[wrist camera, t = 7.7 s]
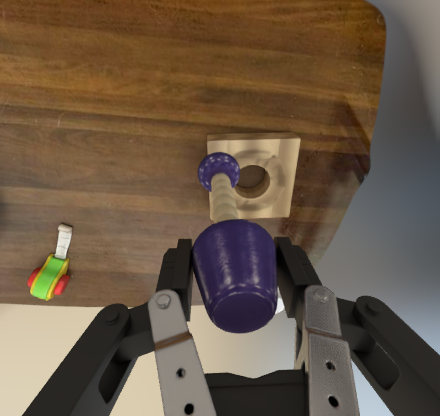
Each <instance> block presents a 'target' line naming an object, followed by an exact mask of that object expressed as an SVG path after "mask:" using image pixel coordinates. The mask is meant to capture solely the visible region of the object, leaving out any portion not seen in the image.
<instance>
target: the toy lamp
mask: <svg viewBox="0 0 440 416" xmlns="http://www.w3.org/2000/svg"><path fill="white" fill-rule="evenodd" d="M239 177H240V167H239V164H238V162H237V161H236V159H235V158H234V157H233V156H231V155H230V154H227V153H224V152H215V153H211V154H209V155H207V156H206V157H205V158H204V159H203V160H202V161H201V163H200V165H199V167H198V178H199V181H200V183H201V184H202V186H203V187H204V188H205V189H207V190H208V191H210V192H212V202H213V204H212V208H213V212H214V214H213V220H214V223H215V224H212V225H211V226H209V227H208V228H206V229H205V230H204V231H203V232H202V233H201V234H200V235H199V236H198V238H197V239H196V241H195V243H194V245H193V248H192V252H191V261H192V268H193V271H194V275H195V278H196V281H197V284H198V287H199V290H200V293H201V296H202V299H203V302H204V305H205V308H206V311H207V313H208V316H209V317H210V319H211V321H212V322H213V323H214V324H215V325H216V326H217V327H218V328H220V329H222V330H224V331H226V332H231V333H249V332H253V331H255V330H258V329H260V328H262V327H263V326H265V325H266V324H267V323H268V322H269V321H270V320H271V319H272V318H273V316H274V315H275V312H276V309H277V303H278V275H277V251H276V247H275V243H274V241H273V239H272V237H271V236H270V234H269V233H268V232H267V231H266V230H265V229H264V228H262V227H261V226H260V225H258V224H256V223H254V222H250V221H248V220H243V219H239V214H238V211H237V209H236V202H235V200H234V194H233V192H232V189H233V188H234V187H235V186H236V184H237V183H238V180H239Z"/></svg>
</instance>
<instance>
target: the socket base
mask: <svg viewBox="0 0 440 416" xmlns="http://www.w3.org/2000/svg"><path fill="white" fill-rule="evenodd" d="M299 145H300V138H299V137H298V136H297V135H296V134H294V133H293V132H275V133H274V132H273V133H234V134H207V151H208V155H209V154H211V153H215V152H224V153H227V154H230V155H231V156H233V157H234V158H235V159H236V161H237V162H238V164H239V167H240V169H241V168H243V167H246V166H248V165H258V166H261V167H263V168H264V169H265V177H264V179H263V181H262V182H261V183H260V184H259V185H258V186H255V187H253V188H247V189H244V188H241V187H239V186H237V185H236V186H235V187H234V188H233V189H232V192H233V194H234V200H235V202H236V209H237V211H238V214H239V219H243V218H271V217H289V212H290V205H291V198H292V192H293V185H294V178H295V172H296V165H297V159H298V152H299ZM209 198H210V220H213V214H214V212H213V208H212V204H213V202H212V192H210V191H209Z"/></svg>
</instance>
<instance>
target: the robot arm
mask: <svg viewBox="0 0 440 416" xmlns="http://www.w3.org/2000/svg"><path fill="white" fill-rule="evenodd" d="M274 243H275V247H276V251H277V275H278V288H279V292H280V295H281V298H282V301H283V304H284V307H285V310H286V313H287V317H288V318H295V320H296V323H297V324H296V328H295V360H294V369H293V370H278V371H275V372H272V373H269V374H266V375H264V376H261V377H258V378H248V377H244V376H240V375H235V374H232V373H209V374H208V373H207V374H204V372H203V369H202V366H201V362H200V359H199V356H198V352H197V349H196V346H195V343H194V340H193V336H192V334H191V333H190V332H189V329H188V326H187V321H190V313H191V298H192V283H193V268H192V261H191V252H192V248H193V247H192V239H179V240H178V246H177V248H169V249H168V251H167V252H166V253H165V254H164V257H163V261H162V266H161V270H160V275H159V279H158V284H157V288H156V292H155V293H154V294H153V295H152V296H151V297H150V299H149V301H148V302H146V303H145V304H143V305H140V306H137V307H134V308H131V309H128V308H127V307H126V306H125V305H123V304H112V305H109V306H107V307H105V308H103V309H102V310H101V311H100V312H99V313H98V314H97V316H96V317H95V318H94V320H93V321H92V322H91V324H90V325H89V326H88V328H87V329H86V330H85V332H84V333H83V334H82V336H81V337H80V338H79V340H78V341H77V342H76V344H75V345H74V346H73V348H72V349H71V351H70V352H69V353H68V355H67V356H66V357H65V358H64V360H63V361H62V362H61V364H60V365H59V367H58V368H57V369H56V371H55V372H54V373H53V375H52V376H51V377H50V379H49V380H48V381H47V383H46V384H45V385H44V387H43V388H42V390H41V391H40V392H39V394H38V395H37V396H36V397H35V399H34V400H33V401H32V403H31V404H30V406H29V407H28V408H27V409H26V411H25V412H24V414H23V415H22V416H109V415H110V413H111V411H112V409H113V407H114V405H115V403H116V401H117V399H118V396H119V395H120V393H121V391H122V389H123V387H124V385H125V383H126V381H127V378H128V377H129V375H130V373H131V370H132V369H133V367H134V365H135V362H136V360H137V358H138V357H139V356H142V355H144V354H147V353H150V352H152V351H155V358H156V363H157V370H158V377H159V383H160V390H161V396H162V402H163V408H164V415H165V416H360V413H359V407H358V401H357V394H356V389H355V383H354V376H353V370H352V364H351V359H352V361H353V362H354V363H355V365H356V366H357V367H358V369H359V370H360V371H361V372H362V374H363V375H364V377H365V378H366V379H367V381H368V382H369V383H370V385H371V386H372V387H373V389H374V390H375V391H376V393H377V394H378V395H379V397H380V398H381V399H382V401H383V402H384V403H385V404H386V406H387V407H388V409H389V410H390V411H391V413H392V414H393V415H394V416H440V355H439V354H438V353H437V352H436V351H434V349H432V348H431V347H430V346H429V345H428V344H427V343H426V342H425V341H424V340H423V339H422V338H421V337H420V336H419V335H418V334H417V333H415V332H414V331H413V330H412V329H411V328H410V327H409V326H408V325H407V324H406V323H405V322H404V321H403V320H402V319H401V318H399V317H398V316H397V315H396V314H395V313H394V312H393V311H392V310H391V309H390V308H389V307H388V306H387V305H385V304H384V303H383V302H382V301H380V300H379V299H377V298H374V297H371V296H361V297H359V298H358V299H357V300H356V302H352V301H348V300H344V299H340V298H337V297H335V295H334V293H333V292H332V291H331V290H329V289H328V288H326V287H324V286H322V283H321V282H320V280H319V278H318V276H317V274H316V272H315V270H314V268H313V266H312V265H311V262H310V260H309V259H308V256H307V255H306V253H305V251H304V250H303V249H302V248H301V247H299V246H298V245H292V243H291V241H290V239H289V237H275V238H274ZM378 344H379V345H380V346H381V347H380V346H379V345H378ZM386 353H387V354H388V355H389V356H388V355H387V354H386ZM393 361H394V362H395V363H394V362H393Z"/></svg>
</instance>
